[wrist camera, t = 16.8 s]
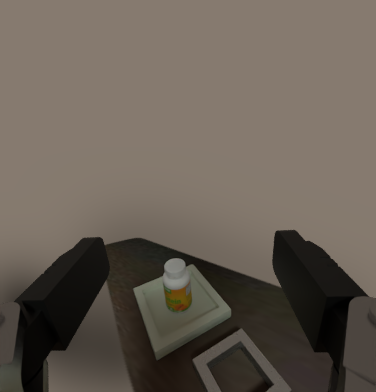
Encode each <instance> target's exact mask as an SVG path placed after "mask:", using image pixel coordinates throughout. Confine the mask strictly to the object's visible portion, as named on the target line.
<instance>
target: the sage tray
mask: <svg viewBox="0 0 376 392" xmlns="http://www.w3.org/2000/svg"><path fill="white" fill-rule="evenodd" d="M186 269H187V270H188V272H189V274H190V282H191V293H192V305H191V307H190V309H189V310H188V311H186V312H185V313H182V314H174V313H172V312H170V311H169V310H168V309H167V306H166V301H165V294H164V287H163V277H160V278H158V279H155V280H153V281H151V282H148V283H146V284H143V285H141V286H138V287H136V288H134V294H135V297H136V300H137V303H138V306H139V309H140V312H141V315H142V318H143V321H144V324H145V327H146V330H147V333H148V336H149V339H150V342H151V345H152V348H153V351H154V354H155V357H156V360H159V359H160V358H162V357H164V356H165V355H167V354H169V353H171V352H172V351H174V350H176V349H177V348H179V347H181V346H182V345H184V344H186V343H188V342H189V341H191V340H193V339H194V338H196V337H198V336H199V335H201V334H203V333H205V332H206V331H208V330H210V329H211V328H213V327H215V326H216V325H218V324H220V323H222V322H223V321H225V320H227V319H228V318H230V317H231V309H230V308H229V306H228V305H227V304H226V303H225V302H224V300H223V299H222V298H221V297H220V296H219V295H218V293H217V292H216V291H215V290H214V289H213V287H212V286H211V285H210V284H209V283H208V282H207V280H206V279H205V278H204V277H203V276H202V274H201V273H200V272H199V271H198V270H197V268H196V267H195V266H194V265H193V264H192V265H189V266H187V267H186Z"/></svg>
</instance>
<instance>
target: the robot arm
mask: <svg viewBox="0 0 376 392" xmlns="http://www.w3.org/2000/svg"><path fill="white" fill-rule="evenodd" d="M272 261H273V269H274V272H275V275H276V277H277V279H278V281H279V283H280V285H281V287H282V289H283V291H284V293H285V295H286V297H287V299H288V301H289V303H290V305H291V307H292V309H293V311H294V313H295V315H296V317H297V319H298V321H299V323H300V325H301V327H302V329H303V330H304V332H305V334H306V336H307V338H308V340H309V342H310V344H311V346H312V348H313V350H314V352H328V353H329V355H330V357H331V359H332V360H333V364H332V368H331V375H330V381H329V388H328V392H376V298H372V297H369V296H368V295H367V294H366V293H365V292H364V291H363V290H362V289H361V288H360V287H359V286H358V285H357V284H356V283H355V282H354V281H353V280H352V279H351V278H350V277H349V276H348V275H347V274H346V273H345V272H344V271H343V269H341V268H340V267H338V264H337V263H336V262H335V261H334V260H333V259H331V258H330V256H329V255H328V254H327V253H326V252H325V251H324V250H323V249H322V248H320V247H319V246H317V245H316V244H314V243H312V242H310V241H305V240H304V239H303V238H302V237H301V236H300V235H299V233H298V232H297V231H295V230H283V231H276V233H275V237H274V249H273V260H272ZM109 269H110V266H109V261H108V257H107V253H106V249H105V245H104V242H103V239H102V238H100V237H95V238H94V237H93V238H83V239H81V240H80V241H79V243H78V244H76V245H75V247H74V248H73V249H71V250H69V251H68V252H66V253H65V254H63V255H61V256H60V257H59V258H58V259H57V260H56V261H55V262H54V263H53V264H52V266H50V267H49V268H48V269H47V270H46V271H45V272H44V274H41V276H40V277H39V278H37V279H36V280H35V282H33V284H31V285H30V286H29V287H28V288H27V289H26V290H25V291H24V292H23V293H22V294H21V295H20V296H19V297H18V298H17V299H16V300H15V301H14V302H7V303H3V304H0V392H48V362H47V360H46V358H47V356H48V354H49V353H50V351H52V350H53V351H54V350H56V351H57V350H58V351H60V350H61V351H62V350H63V351H65V350H66V348H67V347H68V345H69V343H70V341H71V340H72V338H73V336H74V335H75V333H76V331H77V329H78V327H79V326H80V324H81V322H82V321H83V319H84V317H85V315H86V314H87V312H88V310H89V309H90V307H91V305H92V303H93V302H94V300H95V298H96V296H97V294H98V293H99V291H100V290H101V288H102V286H103V284H104V283H105V281H106V279H107V277H108V275H109Z"/></svg>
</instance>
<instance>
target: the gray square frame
mask: <svg viewBox="0 0 376 392" xmlns="http://www.w3.org/2000/svg"><path fill="white" fill-rule="evenodd" d="M240 348H241V350H242V351H243V352H244V354H245V355H246V356H247V358H248V359H249V360H250V362H251V363H252V364H253V366H254V367H255V369H256V370H257V371H258V373H259V374H260V375H261V377H262V378H263V379H264V381H265V382H266V383H267V385H268V386H269V388H270V389H268V390H267V391H266V392H291V391H292V390H291V388H290V387H289V386H288V385H287V384H286V382H285V381H284V380H283V379H282V377H281V376H280V375H279V374H278V373H277V371H276V370H275V369H274V368H273V366H272V365H271V364H270V363H269V361H268V360H267V359H266V358H265V357H264V355H263V354H262V353H261V352H260V350H259V349H258V348H257V347H256V346H255V344H254V343H253V342H252V341H251V339H250V338H249V337H248V336H247V335H246V333H245V332H244V331H243V330H242V328H241V329H240V330H238V331H237V332H235V333H233V334H232V335H230V336H229V337H227V338H226V339H224V340H222V341H221V342H219V343H218V344H216V345H215V346H213V347H211V348H210V349H208V350H207V351H205V352H203V353H202V354H200V355H199V356H197V357H196V358H194V359H192V360H193V368H194V370H195V372H196V374H197V376H198V378H199V380H200V382H201V384H202V386H203V389H204V391H205V392H221V390H220V388H219V387H218V385H217V383H216V381H215V379H214V377H213V376H212V374H211V372H210V370H209V369H211V368H212V367H214V366H215V365H217V364H218V363H219V362H221V361H222V360H224V359H225V358H227V357H228V356H230V355H231V354H233V353H234V352H236V351H237V350H238V349H240Z"/></svg>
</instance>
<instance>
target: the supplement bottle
mask: <svg viewBox="0 0 376 392" xmlns="http://www.w3.org/2000/svg"><path fill="white" fill-rule="evenodd" d="M164 268H165V273H164V274H163V287H164V294H165V301H166V306H167V309H168V310H169V311H170V312H172V313H174V314H182V313H185V312H186V311H188V310H189V309H190V307H191V305H192V293H191V282H190V274H189V272H188V270H187V269H186V266H185V262H184V261H183V260H182V259H178V258H174V259H170V260H169V261H167V262H166V263H165V266H164Z"/></svg>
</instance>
